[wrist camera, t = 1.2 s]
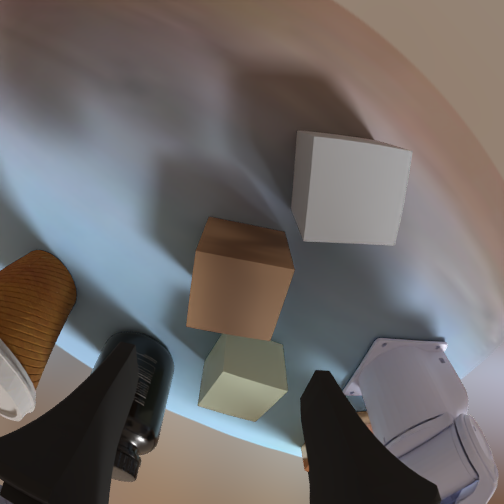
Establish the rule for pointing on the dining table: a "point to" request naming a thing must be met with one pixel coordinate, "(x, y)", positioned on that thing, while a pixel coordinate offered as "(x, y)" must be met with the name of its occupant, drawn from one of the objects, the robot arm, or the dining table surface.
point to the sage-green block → (243, 377)
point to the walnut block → (239, 279)
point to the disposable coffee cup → (30, 325)
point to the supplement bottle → (141, 402)
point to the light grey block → (348, 188)
